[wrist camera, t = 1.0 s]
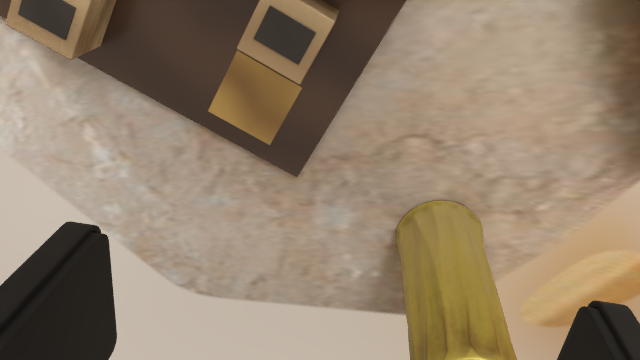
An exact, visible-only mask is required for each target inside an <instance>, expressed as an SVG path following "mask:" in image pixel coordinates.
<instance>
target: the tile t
mask: <svg viewBox="0 0 640 360" xmlns="http://www.w3.org/2000/svg"><path fill="white" fill-rule="evenodd" d="M338 14H339V10H337V9H336V8H334V7H332V6H331V5H329V4H327V3H326V2H324V1H322V0H259V2H258V5H257V7H256V9H255V11H254V13H253V15H252V17H251V19H250V21H249V23H248V25H247V27H246V29H245V32H244V34H243V36H242V38H241V40H240V42H239V44H238V46H237V49H238V50H240V51H242V52H244V53H245V54H247V55H249V56H251V57H252V58H254V59H256V60H258V61H259V62H261V63H263V64H264V65H266V66H268V67H270V68H271V69H273V70H275V71H277V72H278V73H280V74H282V75H284V76H285V77H287V78H289V79H291V80H292V81H294V82H296V83H298V84H301V82H302V80H303V79H304V77H305V75H306V73H307V71H308V70H309V68H310V66H311V64H312V63H313V61H314V59H315V57H316V55H317V54H318V52H319V50H320V48H321V47H322V45H323V43H324V41H325V39H326V38H327V36H328V34H329V32H330V31H331V29H332V27H333V25H334V23H335V21H336V19H337V16H338Z"/></svg>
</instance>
